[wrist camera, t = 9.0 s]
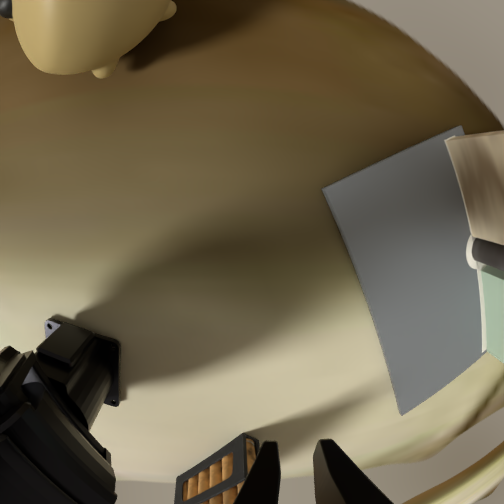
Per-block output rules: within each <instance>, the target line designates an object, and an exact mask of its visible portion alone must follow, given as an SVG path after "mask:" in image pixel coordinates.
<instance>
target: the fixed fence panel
mask: <svg viewBox="0 0 504 504" xmlns="http://www.w3.org/2000/svg"><path fill="white" fill-rule="evenodd" d="M446 143H447V145H448V148H449V151H450V154H451V157H452V160H453V163H454V166H455V169H456V172H457V175H458V179H459V182H460V186H461V189H462V193H463V196H464V200H465V204H466V208H467V212H468V217H469V221H470V226H471V231H472V236H473V237H476V239H475V240H474V242H473V245H472V257H473V259H474V260H475V261H478V262H481V263H483V264H486V265H489V266H491V267H494V268H497V269H499V270H502V271H504V130H503V131H494V132H486V133H478V134H471V135H464V136H457V137H453V138H451V139H449V140H447V141H446Z"/></svg>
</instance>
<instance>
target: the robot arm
mask: <svg viewBox="0 0 504 504" xmlns="http://www.w3.org/2000/svg"><path fill="white" fill-rule="evenodd" d="M50 324H51V325H52V327H51V325H50ZM45 334H46V339H45V340H44V341H43V342H42V343H41V344H40V345H39V346H38V347H37V348H36V350H37V352H36V353H35V354H34V352H33V351H29V352H26V353H22V354H21V353H20V352H19V351H17V350H15V349H14V348H12V347H11V346H7V347H5V348H4V349H2V350H1V351H0V504H115V502H116V499H117V494H116V493H115V492H114V491H115V482H116V478H115V474H114V470H113V468H112V467H111V454H110V452H109V451H108V450H107V449H106V448H103V447H102V446H101V445H100V443H99V442H98V441H97V440H96V439H95V438H94V437H93V436H92V435H91V433H90V432H89V431H90V429H91V427H92V425H93V423H94V421H95V419H96V417H97V415H98V413H99V411H100V409H101V407H102V405H103V403H104V404H107V405H111V406H114V407H117V406H119V404H120V355H121V345H120V343H119V342H118V341H117V340H115V339H112V338H109V337H105V336H102V335H99V334H96V333H93V332H92V331H89V330H86V329H83V328H80V327H77V326H74V325H71V324H68V323H65V322H64V323H63V322H60V321H57V320H55V319H52V318H49V319H48V320H46V322H45ZM112 345H114V346H115V347H116V348H113V347H112ZM113 400H114V401H113ZM313 467H314V484H315V498H316V504H394V503H393V502H392V501H390V500H389V498H387V497H386V496H385V494H384V493H382V491H381V490H380V489H378V487H377V486H376V485H375V484H374V483H373V482H372V481H371V480H370V479H369V478H368V477H367V476H366V475H365V474H364V473H363V472H362V471H361V470H360V469H359V468H358V467H357V465H356V464H355V463H354V462H353V461H352V460H351V459H350V458H349V457H348V456H347V455H346V454H345V453H344V451H343V450H342V449H341V448H340V447H339V446H338V445H337V444H336V443H335V441H334V440H332V439H320V440H319V441H318V443H317V446H316V449H315V451H314V455H313ZM280 479H281V468H280V459H279V450H278V443H277V441H264V442H263V444H262V446H261V448H260V450H259V452H258V454H257V456H256V458H255V461H254V463H253V465H252V467H251V469H250V471H249V473H248V475H247V477H246V479H245V481H244V483H243V485H242V487H241V489H240V491H239V493H238V495H237V497H236V498H235V500H234V502H233V504H278V497H279V488H280Z"/></svg>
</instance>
